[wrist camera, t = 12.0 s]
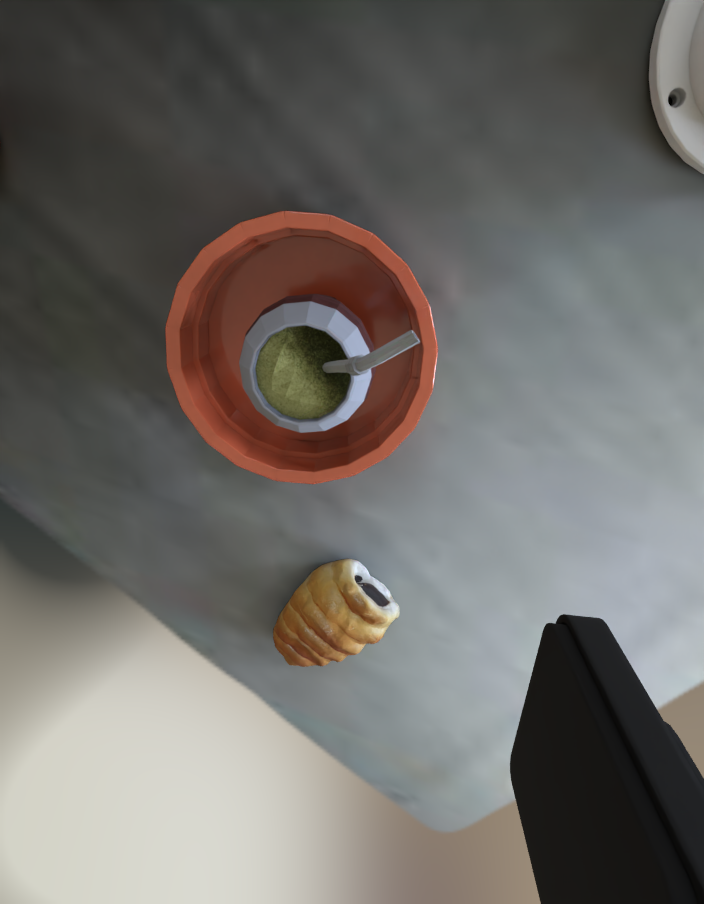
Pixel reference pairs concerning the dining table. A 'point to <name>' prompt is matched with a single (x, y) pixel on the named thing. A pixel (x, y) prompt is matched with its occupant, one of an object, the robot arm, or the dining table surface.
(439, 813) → the dining table surface
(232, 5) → the dining table surface
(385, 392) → the terracotta bowl
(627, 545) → the dining table surface
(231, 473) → the dining table surface
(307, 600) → the pastry
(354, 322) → the mate gourd
